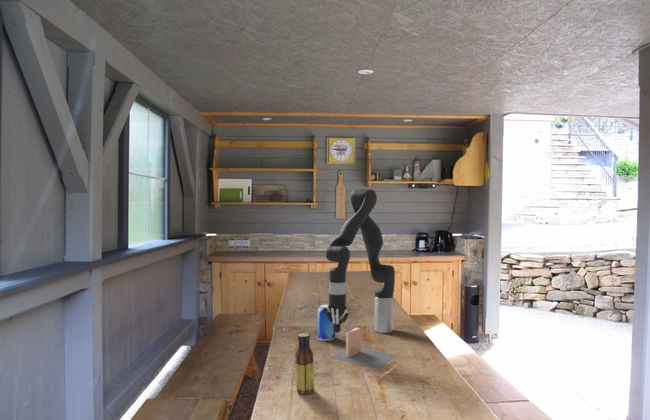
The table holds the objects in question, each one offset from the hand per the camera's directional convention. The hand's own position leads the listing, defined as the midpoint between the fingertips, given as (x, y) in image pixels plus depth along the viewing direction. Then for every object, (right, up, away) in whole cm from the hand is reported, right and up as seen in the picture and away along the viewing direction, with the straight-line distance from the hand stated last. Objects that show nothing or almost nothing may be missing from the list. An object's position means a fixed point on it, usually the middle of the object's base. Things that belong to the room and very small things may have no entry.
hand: (336, 332), depth 200 cm
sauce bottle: (-12, -10, -41) cm, 44 cm away
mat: (+11, -9, -7) cm, 16 cm away
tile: (+7, -8, -4) cm, 11 cm away
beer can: (-4, -8, +18) cm, 20 cm away
